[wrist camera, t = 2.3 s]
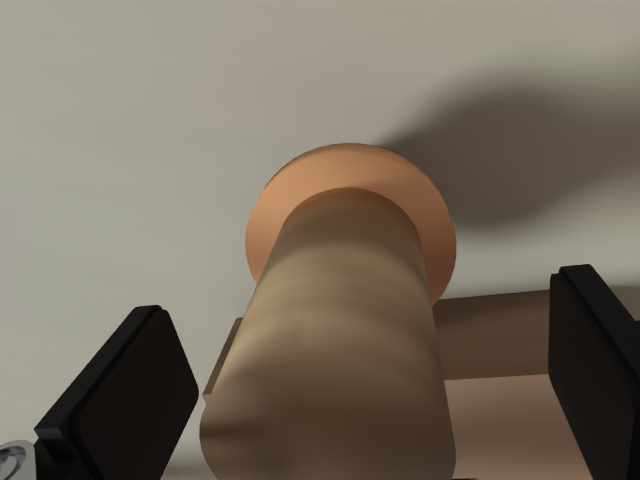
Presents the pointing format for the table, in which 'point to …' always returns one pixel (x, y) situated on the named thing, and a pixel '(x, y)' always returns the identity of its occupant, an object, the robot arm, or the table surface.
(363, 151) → the peg
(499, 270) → the table surface
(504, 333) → the socket block
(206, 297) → the table surface
